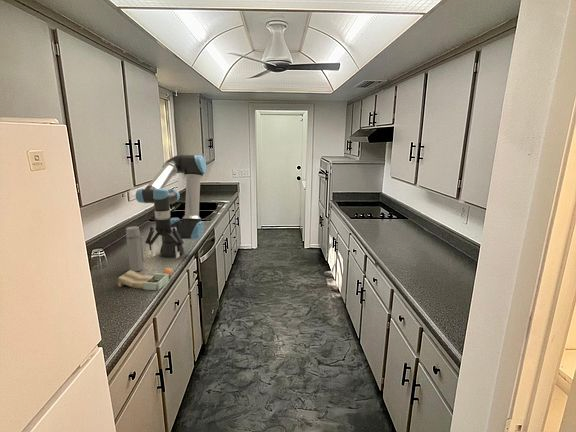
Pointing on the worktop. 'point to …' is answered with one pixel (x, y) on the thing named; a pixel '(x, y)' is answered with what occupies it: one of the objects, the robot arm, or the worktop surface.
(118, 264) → the worktop surface
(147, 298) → the worktop surface
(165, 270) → the ball
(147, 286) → the tray
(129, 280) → the ramp lane
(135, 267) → the water bottle
